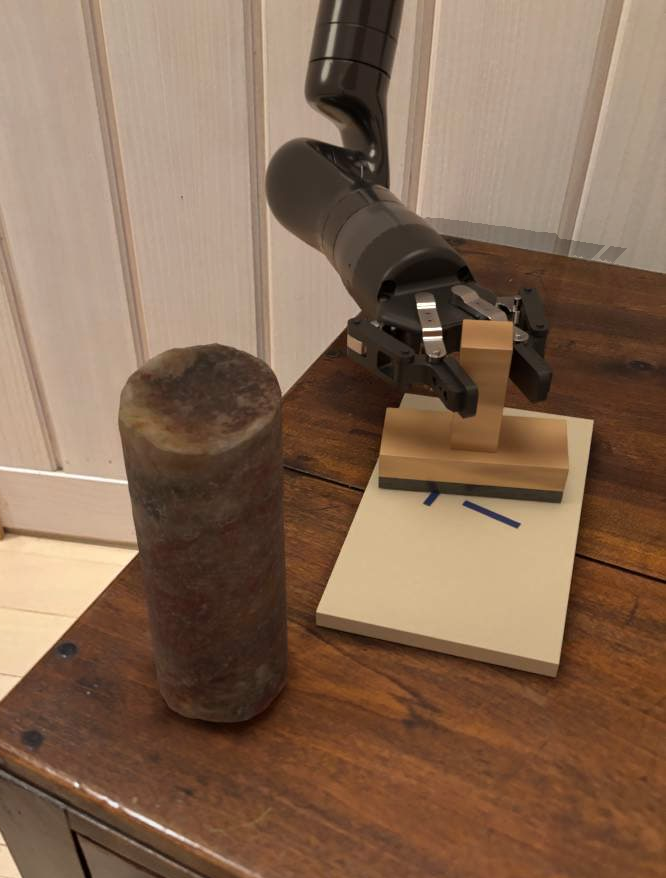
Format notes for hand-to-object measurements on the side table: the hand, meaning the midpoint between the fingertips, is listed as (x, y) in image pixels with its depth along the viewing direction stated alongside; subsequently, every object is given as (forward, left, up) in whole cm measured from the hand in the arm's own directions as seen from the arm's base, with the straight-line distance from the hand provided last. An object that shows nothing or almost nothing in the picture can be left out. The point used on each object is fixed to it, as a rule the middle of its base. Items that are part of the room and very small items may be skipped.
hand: (507, 396), depth 55 cm
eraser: (-1, -4, -8) cm, 9 cm away
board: (+1, -1, -10) cm, 10 cm away
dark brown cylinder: (+21, +4, -10) cm, 24 cm away
